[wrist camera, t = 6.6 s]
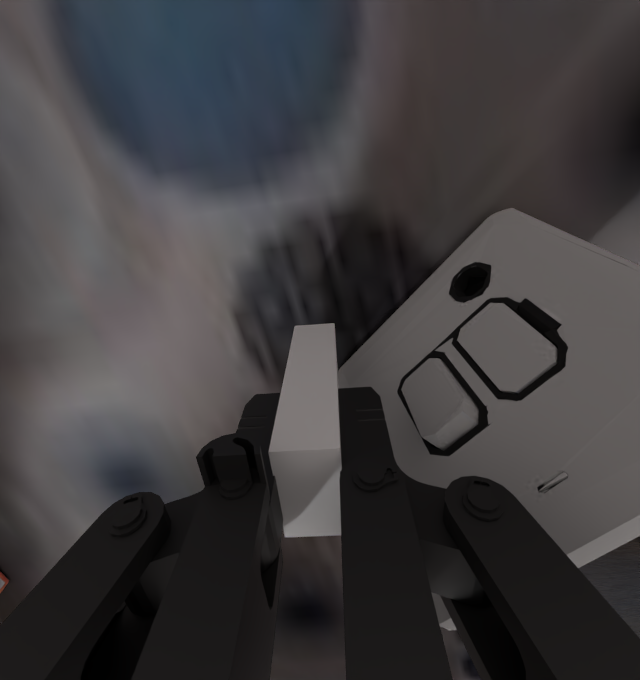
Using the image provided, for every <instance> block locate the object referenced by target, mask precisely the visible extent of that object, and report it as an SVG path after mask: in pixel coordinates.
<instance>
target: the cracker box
mask: <svg viewBox="0 0 640 680" xmlns="http://www.w3.org/2000/svg"><path fill="white" fill-rule="evenodd" d="M8 582H9V580H8V579H7V578H6V577H5V576H4V575H3V574H2V573H1V572H0V593H1V592H2V590H3V589H4V588H5V586H6V585H7V584H8Z"/></svg>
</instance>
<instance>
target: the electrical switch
mask: <svg viewBox="0 0 640 680" xmlns="http://www.w3.org/2000/svg"><path fill="white" fill-rule="evenodd" d="M338 379H339V388H354V387H372V388H373V389H374V390H375V391H376V392H377V393H378V394H379V395H380V398H381V402H382V406H383V411H384V415H385V420H386V424H387V428H388V432H389V437H390V441H391V445H392V450H393V454H394V458H395V461H396V463H397V465H398V466H399V468H400V469H401V470H402V471H403V472H404V473H405V474H406V475H408V476H409V477H411V478H412V479H414V480H416V481H418V482H421V483H425V484H428V485H432V486H437V487H441V488H445V489H447V487H448V486H449V485H450V483H451V482H452V481H454V480H456V479H458V478H460V477H464V476H479V477H483V478H488V479H491V480H493V481H495V482H497V483H499V484H501V485H503V486H504V487H505V488H506V489H507V490H508V491H510V492H511V493H512V494H513V495H514V496H515V497H516V498H517V499H518V500H519V502H520V503H521V504H522V505H523V506H524V507H525V508H526V510H527V511H528V512H529V513H530V514H531V515H532V516H533V517H534V519H535V520H536V521H537V522H538V523H539V524H540V525H541V527H542V528H543V529H544V530H545V531H546V532H547V533H548V535H549V536H550V537H551V538H552V539H553V540H554V541H555V543H556V544H557V545H558V546H559V547H560V548H561V549H562V550H563V552H564V553H565V554H566V555H567V556H568V557H569V558H570V560H571V561H572V562H573V563H574V564H575V565H576V566H577V568H579V567H581V566H583V565H585V564H587V563H589V562H591V561H593V560H595V559H597V558H598V557H600V556H602V555H604V554H606V553H608V552H610V551H612V550H614V549H616V548H617V547H619V546H621V545H623V544H625V543H627V542H629V541H631V540H633V539H635V538H636V537H638V536H640V265H638V264H635V263H633V262H631V261H629V260H627V259H624V258H622V257H620V256H618V255H615V254H613V253H611V252H609V251H607V250H604V249H602V248H600V247H598V246H596V245H593V244H591V243H589V242H587V241H585V240H582V239H580V238H578V237H576V236H574V235H571V234H569V233H567V232H565V231H562V230H560V229H558V228H556V227H554V226H551V225H549V224H547V223H545V222H543V221H540V220H538V219H536V218H534V217H532V216H529V215H527V214H525V213H523V212H520V211H518V210H516V209H514V208H509V209H505V210H502V211H499V212H496V213H494V214H492V215H491V216H489V217H488V218H487V219H486V220H485V221H484V222H483V223H482V224H481V225H480V226H479V227H478V228H477V229H476V230H475V231H474V232H473V233H472V234H471V235H470V236H469V237H468V238H467V239H466V240H465V241H464V242H463V243H462V244H461V245H460V246H459V247H458V248H457V249H456V250H455V251H454V252H453V253H452V254H451V255H450V256H449V257H448V258H447V259H446V260H445V261H444V262H443V263H442V265H441V266H440V267H439V268H438V269H437V270H436V271H435V272H434V273H433V274H432V275H431V276H430V277H429V278H428V279H427V280H426V281H425V282H424V283H423V284H422V285H421V286H420V287H419V288H418V289H417V290H416V291H415V292H414V293H413V294H412V295H411V296H410V297H409V298H408V299H407V300H406V301H405V302H404V303H403V304H402V305H401V306H400V307H399V308H398V309H397V310H396V312H395V313H394V314H393V315H392V316H391V317H390V318H389V319H388V320H387V321H386V322H385V323H384V324H383V325H382V326H381V327H380V328H379V329H378V330H377V331H376V332H375V333H374V334H373V335H372V336H371V337H370V338H369V339H368V340H367V341H366V342H365V343H364V344H363V345H362V346H361V347H360V348H359V349H358V350H357V351H356V352H355V353H354V354H353V355H352V356H351V357H350V358H349V360H348V361H347V362H346V363H345V364H344V365H343V366H342V367H341V368H340V369H339V371H338ZM431 593H432V592H431ZM432 597H433V601H434V605H435V609H436V613H437V617H438V622H439V626H440V627H444V628H446V629H447V630H448V631H452V630H457V629H456V627H455V625H454V623H453V621H452V619H451V617H450V615H449V613H448V611H447V609H446V607H445V605H444V603H443V601H442V599H441V597H440V595H438V594H435V593H432Z"/></svg>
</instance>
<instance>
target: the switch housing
mask: <svg viewBox="0 0 640 680" xmlns="http://www.w3.org/2000/svg"><path fill="white" fill-rule="evenodd" d="M578 569H579V570H580V571H581V572H582V573H583V574H584V575H585V577H586V578H587V579H588V580H589V581H590V582H591V583H592V585H593V586H594V587H595V588H596V589H597V590H598V591H599V593H600V594H601V595H602V596H603V597H604V598H605V599H606V601H607V602H608V603H609V604H610V605H611V606H612V607H613V608H614V610H615V611H616V612H617V613H618V614H619V615H620V616H621V618H622V619H623V620H624V621H625V622H626V623H627V624H628V626H629V627H630V628H631V629H632V630H633V631H634V632H635V634H636V635H637V636H638V637H639V638H640V536H638V537H636V538H635V539H633V540H631V541H629V542H627V543H625V544H623V545H621V546H619V547H617V548H616V549H614V550H612V551H610V552H608V553H606V554H604V555H602V556H600V557H598V558H597V559H595V560H593V561H591V562H589V563H587V564H585V565H583V566H581V567H579V568H578Z"/></svg>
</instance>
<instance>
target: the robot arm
mask: <svg viewBox="0 0 640 680" xmlns="http://www.w3.org/2000/svg"><path fill="white" fill-rule="evenodd" d="M196 459H197V462H198V465H199V469H200V472H201V475H202V478H203V481H204V485H205V488H204V490H202V491H201V492H199V493H196V494H194V495H191V496H189V497H186V498H183V499H179V500H176V501H173V502H170V503H167V504H164V503H163V501H162V499H161V498H160V496H159V495H156V494H154V493H152V492H139V493H136V494H132V495H129V496H126V497H124V498H123V499H121V500H119V501H117V502H115V503H114V504H112V505H111V506H110V507H109V508H108V509H107V510H106V511H104V512H103V513H102V514H101V515H100V516H99V517H98V519H97V520H96V521H95V522H94V523H93V524H92V525H91V526H90V527H89V528H88V530H87V531H86V532H85V533H84V534H83V535H82V536H81V537H80V538H79V539H78V541H77V542H76V543H75V544H74V545H73V546H72V547H71V548H70V549H69V550H68V552H67V553H66V554H65V555H64V556H63V557H62V558H61V559H60V560H59V561H58V563H57V564H56V565H55V566H54V567H53V568H52V569H51V570H50V571H49V572H48V574H47V575H46V576H45V577H44V578H43V579H42V580H41V581H40V582H39V583H38V585H37V586H36V587H35V588H34V589H33V590H32V591H31V592H30V593H29V595H28V596H27V597H26V598H25V599H24V600H23V601H22V602H21V603H20V604H19V606H18V607H17V608H16V609H15V610H14V611H13V612H12V613H11V614H10V615H9V617H8V618H7V619H6V620H5V621H4V622H3V623H2V624H1V625H0V680H270V672H271V663H272V654H273V645H274V636H275V627H276V618H277V609H278V600H279V591H280V582H281V573H282V564H283V558H282V550H281V545H280V543H281V535H282V527H283V530H284V535H285V537H310V536H337V535H341V541H342V570H343V599H344V628H345V657H346V680H453V679H452V675H451V671H450V667H449V663H448V659H447V655H446V650H445V646H444V642H443V638H442V634H441V630H440V626H439V622H438V617H437V613H436V609H435V605H434V601H433V597H432V593H435V594H438V595H440V597H441V599H442V601H443V603H444V605H445V607H446V609H447V611H448V613H449V615H450V617H451V619H452V621H453V623H454V625H455V627H456V629H457V631H458V633H459V635H460V637H461V639H462V641H463V643H464V645H465V648H466V650H467V652H468V654H469V656H470V658H471V660H472V662H473V664H474V666H475V668H476V670H477V672H478V674H479V676H480V678H481V680H640V638H639V637H638V636H637V635H636V634H635V632H634V631H633V630H632V629H631V628H630V627H629V626H628V624H627V623H626V622H625V621H624V620H623V619H622V618H621V616H620V615H619V614H618V613H617V612H616V611H615V610H614V608H613V607H612V606H611V605H610V604H609V603H608V602H607V601H606V599H605V598H604V597H603V596H602V595H601V594H600V593H599V591H598V590H597V589H596V588H595V587H594V586H593V585H592V583H591V582H590V581H589V580H588V579H587V578H586V577H585V575H584V574H583V573H582V572H581V571H580V570H579V569H578V568H577V566H576V565H575V564H574V563H573V562H572V561H571V560H570V558H569V557H568V556H567V555H566V554H565V553H564V552H563V550H562V549H561V548H560V547H559V546H558V545H557V544H556V543H555V541H554V540H553V539H552V538H551V537H550V536H549V535H548V533H547V532H546V531H545V530H544V529H543V528H542V527H541V525H540V524H539V523H538V522H537V521H536V520H535V519H534V517H533V516H532V515H531V514H530V513H529V512H528V511H527V510H526V508H525V507H524V506H523V505H522V504H521V503H520V502H519V500H518V499H517V498H516V497H515V496H514V495H513V494H512V493H511V492H510V491H508V490H507V489H506V488H505V487H504V486H503V485H501V484H499V483H497V482H495V481H493V480H491V479H488V478H483V477H479V476H464V477H460V478H458V479H456V480H454V481H452V482H451V483H450V485H449V486H448V487H447V489H445V488H441V487H437V486H432V485H428V484H425V483H421V482H418V481H416V480H414V479H412V478H411V477H409V476H408V475H406V474H405V473H404V472H403V471H402V470H401V469H400V468H399V466H398V465H397V463H396V461H395V458H394V454H393V450H392V445H391V441H390V437H389V432H388V428H387V424H386V420H385V415H384V411H383V406H382V402H381V398H380V395H379V394H378V393H377V392H376V391H375V390H374V389H373V388H372V387H354V388H339V379H338V365H337V351H336V337H335V323H329V324H315V325H300V326H295V327H294V332H293V337H292V342H291V346H290V351H289V356H288V361H287V365H286V370H285V375H284V380H283V385H282V389H281V393H273V394H256V395H255V396H254V397H253V398H252V399H251V400H250V401H249V402H248V403H247V404H246V405H245V408H244V411H243V414H242V419H241V420H240V423H239V425H238V429H237V431H236V433H235V434H229V435H224V436H221V437H219V438H217V439H215V440H212V441H211V442H210V443H208V444H207V445H206V446H204V447H203V448H202V449H201V451H200V452H199V454H198V455H197V456H196ZM431 592H432V593H431Z"/></svg>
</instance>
